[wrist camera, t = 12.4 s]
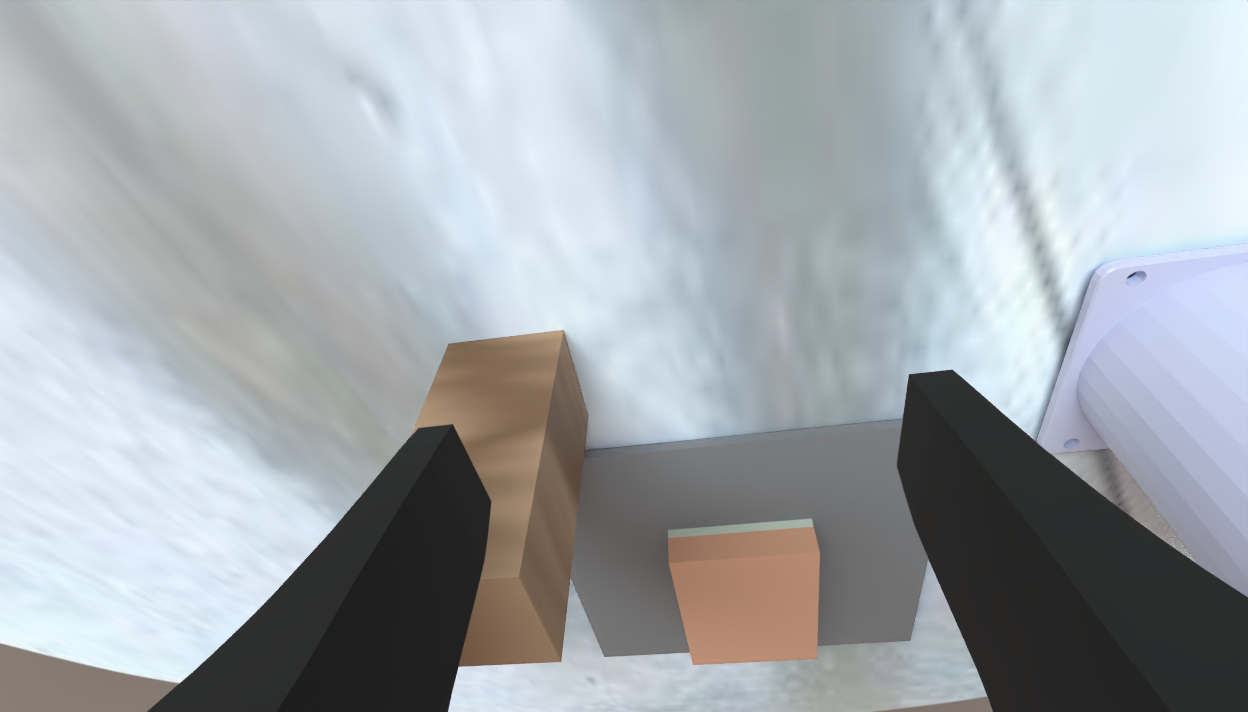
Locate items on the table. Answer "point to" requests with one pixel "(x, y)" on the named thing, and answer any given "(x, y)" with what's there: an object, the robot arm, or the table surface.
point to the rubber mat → (741, 494)
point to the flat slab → (747, 590)
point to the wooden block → (518, 485)
